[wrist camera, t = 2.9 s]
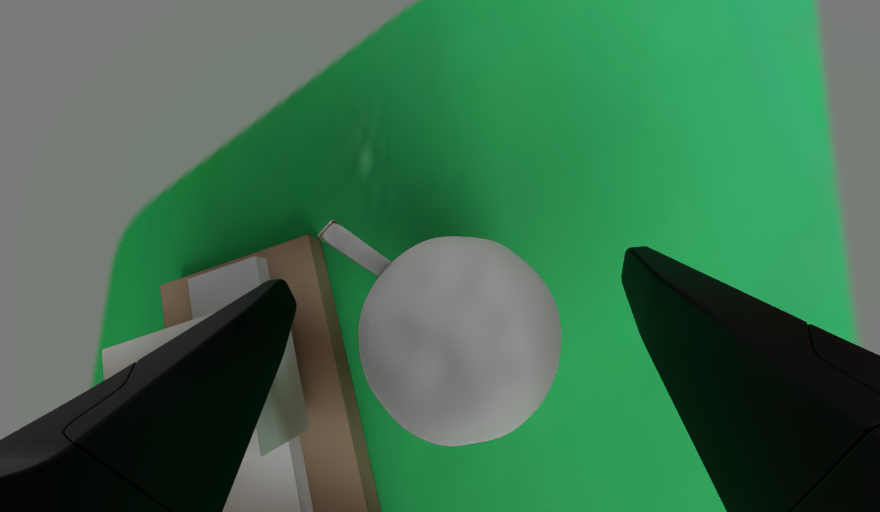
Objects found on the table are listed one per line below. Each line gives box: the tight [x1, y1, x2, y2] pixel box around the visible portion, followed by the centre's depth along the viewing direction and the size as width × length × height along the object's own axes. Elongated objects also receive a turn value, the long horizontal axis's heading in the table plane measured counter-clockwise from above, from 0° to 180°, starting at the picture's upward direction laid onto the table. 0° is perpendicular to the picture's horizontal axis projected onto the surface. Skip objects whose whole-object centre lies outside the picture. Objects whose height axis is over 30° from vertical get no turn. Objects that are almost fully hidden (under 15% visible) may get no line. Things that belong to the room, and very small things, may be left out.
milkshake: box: [318, 220, 561, 446], centre depth 11 cm, size 4×5×10 cm
